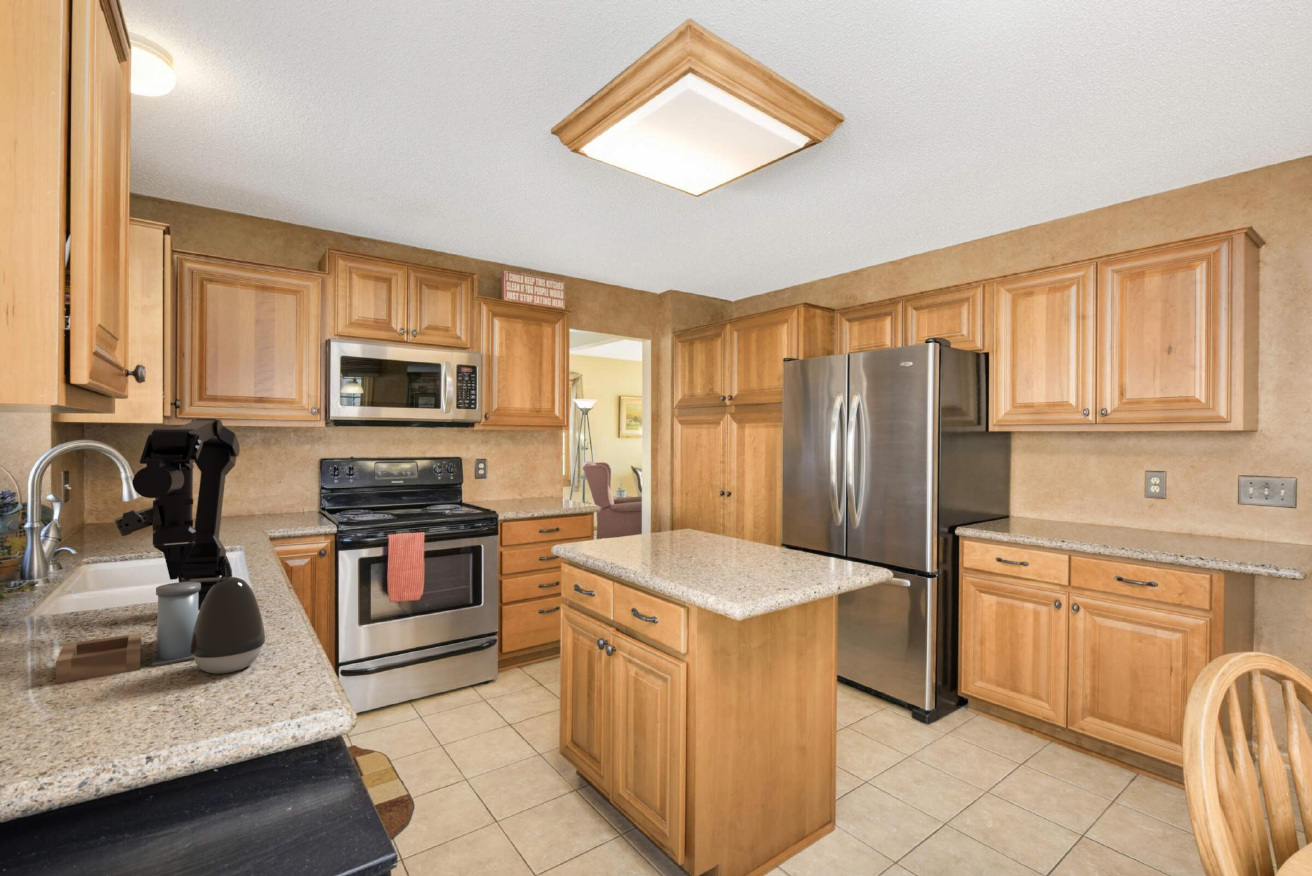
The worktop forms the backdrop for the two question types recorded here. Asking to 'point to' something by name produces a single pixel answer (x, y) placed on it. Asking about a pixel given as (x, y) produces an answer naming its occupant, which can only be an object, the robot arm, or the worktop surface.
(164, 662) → the rubber mat
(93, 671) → the block
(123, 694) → the worktop surface
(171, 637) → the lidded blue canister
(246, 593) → the dark egg-shaped device
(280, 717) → the worktop surface
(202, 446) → the robot arm
